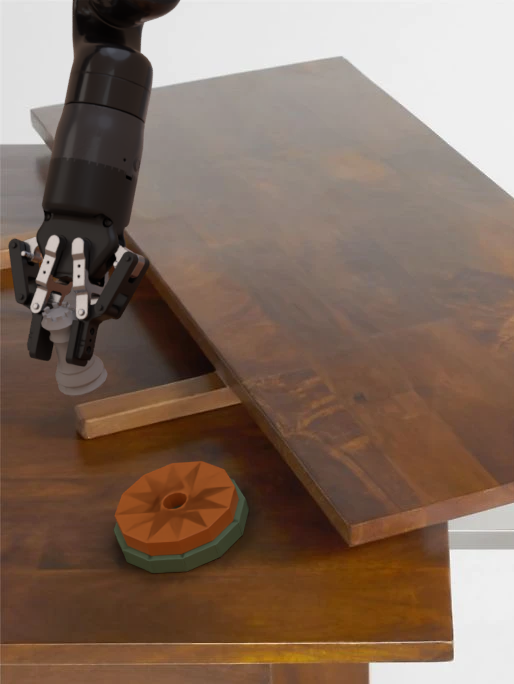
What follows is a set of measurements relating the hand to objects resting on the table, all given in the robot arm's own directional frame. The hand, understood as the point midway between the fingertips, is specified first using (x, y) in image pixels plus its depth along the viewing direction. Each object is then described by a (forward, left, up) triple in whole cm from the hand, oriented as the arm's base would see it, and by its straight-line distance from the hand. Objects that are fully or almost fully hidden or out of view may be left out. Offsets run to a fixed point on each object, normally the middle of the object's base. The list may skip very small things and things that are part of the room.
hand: (57, 361), depth 119 cm
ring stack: (+10, -8, -12) cm, 18 cm away
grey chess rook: (+1, +2, -4) cm, 5 cm away
